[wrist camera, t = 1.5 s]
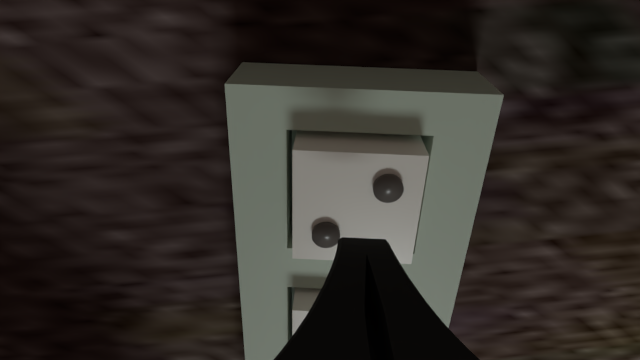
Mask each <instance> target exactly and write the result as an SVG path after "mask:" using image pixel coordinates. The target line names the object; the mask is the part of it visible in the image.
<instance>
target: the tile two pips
mask: <svg viewBox="0 0 640 360" xmlns="http://www.w3.org/2000/svg"><path fill="white" fill-rule="evenodd" d="M428 160H429V154H428V152H427V150H426V148H425V145H424V143H423V141H422V138H421V136H420V135H403V134H379V133H355V132H331V131H307V130H297V132H296V137H295V141H294V146H293V150H292V259H314V260H334V258H335V254H336V250H337V244H338V240H339V239H340V238H342V237H348V238H369V239H386V240H387V242H388V243H389V244H390V246H391V248H392V250H393V252H394V254H395V256H396V257H397V259H398V261H399V262H400V264H411V263H412V257H413V251H414V245H415V239H416V233H417V227H418V221H419V215H420V209H421V203H422V197H423V191H424V185H425V179H426V172H427V166H428Z"/></svg>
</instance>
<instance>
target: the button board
mask: <svg viewBox="0 0 640 360" xmlns="http://www.w3.org/2000/svg"><path fill="white" fill-rule="evenodd" d="M225 96H226V109H227V123H228V136H229V150H230V163H231V176H232V190H233V203H234V217H235V230H236V244H237V257H238V270H239V284H240V297H241V311H242V324H243V337H244V351H245V360H274V358H275V357H276V356H277V355H278V354H279V352H280V351H281V350H282V349H283V347H284V346H285V345H286V344H287V342H288V341H289V340H290V338H291V337H292V309H293V301H294V293H295V287H299V288H320V289H322V287H323V285H324V282H325V280H326V278H327V275H328V273H329V271H330V269H331V266H332V263H333V260H314V259H292V150H293V146H294V141H295V137H296V132H297V130H307V131H331V132H355V133H379V134H403V135H420V136H421V138H422V141H423V143H424V145H425V148H426V150H427V152H428V154H429V160H428V166H427V172H426V179H425V185H424V191H423V197H422V203H421V209H420V215H419V221H418V227H417V233H416V239H415V245H414V251H413V257H412V263H411V264H401V266H402V267H403V269H404V270H405V272H406V274H407V275H408V277H409V278H410V280H411V281H412V282H413V284H414V285H415V287H416V288H417V290H418V291H419V292H420V294H421V295H422V297H423V298H424V299H425V301H426V302H427V303H428V304H429V306H430V307H431V308H432V309H433V311H434V312H435V313H436V314H437V316H438V317H439V318H440V319H441V320H442V322H443V323H444V324H445V325H446V326H447V327H448V328H449V324H450V319H451V315H452V311H453V307H454V303H455V298H456V294H457V290H458V286H459V282H460V277H461V273H462V269H463V265H464V260H465V256H466V252H467V248H468V244H469V239H470V235H471V231H472V227H473V222H474V218H475V214H476V210H477V206H478V201H479V197H480V193H481V189H482V184H483V180H484V176H485V172H486V168H487V163H488V159H489V155H490V151H491V147H492V142H493V138H494V134H495V130H496V125H497V121H498V117H499V113H500V109H501V104H502V100H503V96H504V95H503V94H502V93H501V92H500V91H499V90H498V89H496V88H495V87H494V86H493V85H492V84H491V83H490V82H489V81H487V80H486V79H485V78H484V77H483V76H482V75H481V74H479V73H478V72H477V71H452V70H427V69H401V68H376V67H351V66H325V65H300V64H274V63H249V62H242V63H241V65H240V66H239V67H238V68H237V69H236V71H235V72H234V73H233V74H232V75H231V77H230V78H229V79H228V80H227V81H226V83H225Z"/></svg>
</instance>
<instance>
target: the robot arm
mask: <svg viewBox="0 0 640 360" xmlns="http://www.w3.org/2000/svg"><path fill="white" fill-rule="evenodd" d="M274 360H479V359H478V358H477V357H476V356H475V355H474V354H473V353H472V352H471V351H470V350H469V349H468V348H467V347H466V346H465V345H464V344H463V343H462V342H461V341H460V340H459V339H458V338H457V337H456V336H455V335H454V334H453V333H452V332H451V331H450V330H449V328H448V327H447V326H446V325H445V324H444V323H443V322H442V320H441V319H440V318H439V317H438V316H437V314H436V313H435V312H434V311H433V309H432V308H431V307H430V306H429V304H428V303H427V302H426V301H425V299H424V298H423V297H422V295H421V294H420V292H419V291H418V290H417V288H416V287H415V285H414V284H413V282H412V281H411V280H410V278H409V277H408V275H407V274H406V272H405V270H404V269H403V267H402V266H401V264H400V262H399V261H398V259H397V257H396V256H395V254H394V252H393V250H392V248H391V246H390V244H389V243H388V242H387V240H386V239H369V238H348V237H342V238H340V239H339V240H338V244H337V250H336V254H335V258H334V260H333V263H332V266H331V269H330V271H329V273H328V275H327V278H326V280H325V282H324V285H323V287H322V289H321V290H320V292H319V294H318V296H317V298H316V300H315V301H314V303H313V305H312V307H311V309H310V310H309V312H308V313H307V315H306V317H305V318H304V320H303V321H302V323H301V324H300V326H299V327H298V329H297V330H296V332H295V333H294V334H293V336H292V337H291V338H290V340H289V341H288V342H287V344H286V345H285V346H284V347H283V349H282V350H281V351H280V352H279V354H278V355H277V356H276V357H275V358H274Z"/></svg>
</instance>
